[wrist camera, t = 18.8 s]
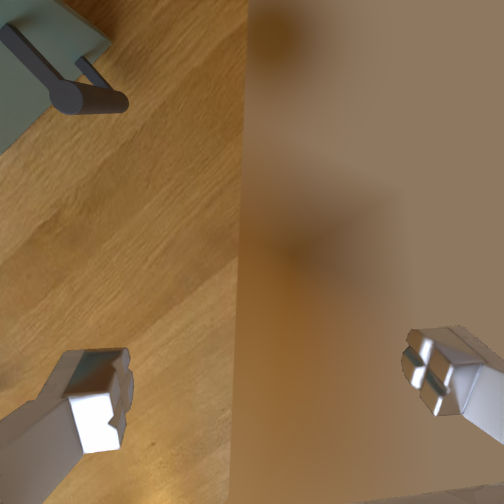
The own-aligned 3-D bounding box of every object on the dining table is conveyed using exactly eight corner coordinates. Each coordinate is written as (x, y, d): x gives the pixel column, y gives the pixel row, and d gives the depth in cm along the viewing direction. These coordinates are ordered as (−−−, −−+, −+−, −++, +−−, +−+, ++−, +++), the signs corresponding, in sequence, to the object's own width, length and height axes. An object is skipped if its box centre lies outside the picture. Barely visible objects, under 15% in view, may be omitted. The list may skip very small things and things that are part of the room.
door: (152, 91, 31) (101, 72, 16) (43, 194, 33) (-95, 266, 18) (104, 32, 29) (-13, -57, 13) (-10, 148, 31) (-221, 186, 16)
